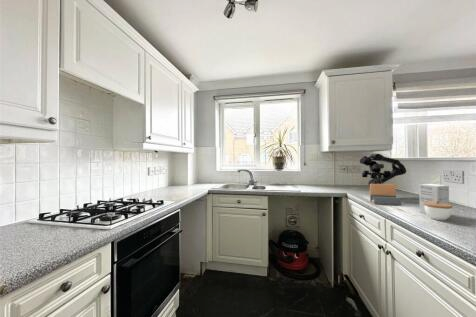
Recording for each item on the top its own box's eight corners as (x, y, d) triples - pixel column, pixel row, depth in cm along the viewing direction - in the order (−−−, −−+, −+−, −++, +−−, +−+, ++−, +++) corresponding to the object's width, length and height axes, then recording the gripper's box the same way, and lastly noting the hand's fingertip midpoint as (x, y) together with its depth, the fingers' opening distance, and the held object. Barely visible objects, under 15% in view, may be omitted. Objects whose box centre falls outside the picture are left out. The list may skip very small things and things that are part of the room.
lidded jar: (443, 216, 112) (443, 199, 112) (458, 222, 101) (458, 203, 101) (419, 215, 114) (419, 198, 114) (431, 220, 104) (431, 202, 104)
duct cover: (370, 194, 151) (369, 194, 152) (395, 195, 146) (394, 195, 147) (370, 183, 150) (369, 183, 152) (395, 184, 146) (395, 184, 147)
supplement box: (430, 211, 123) (430, 183, 123) (449, 215, 114) (449, 185, 114) (418, 212, 120) (418, 183, 120) (437, 216, 111) (437, 185, 111)
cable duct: (370, 201, 151) (370, 194, 151) (395, 202, 146) (395, 195, 146) (374, 203, 143) (374, 196, 143) (401, 205, 138) (401, 198, 138)
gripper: (362, 160, 164) (367, 175, 153) (390, 160, 158) (396, 175, 148) (360, 169, 171) (364, 184, 161) (385, 170, 166) (391, 185, 155)
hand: (378, 182), depth 156 cm, fingers closed
